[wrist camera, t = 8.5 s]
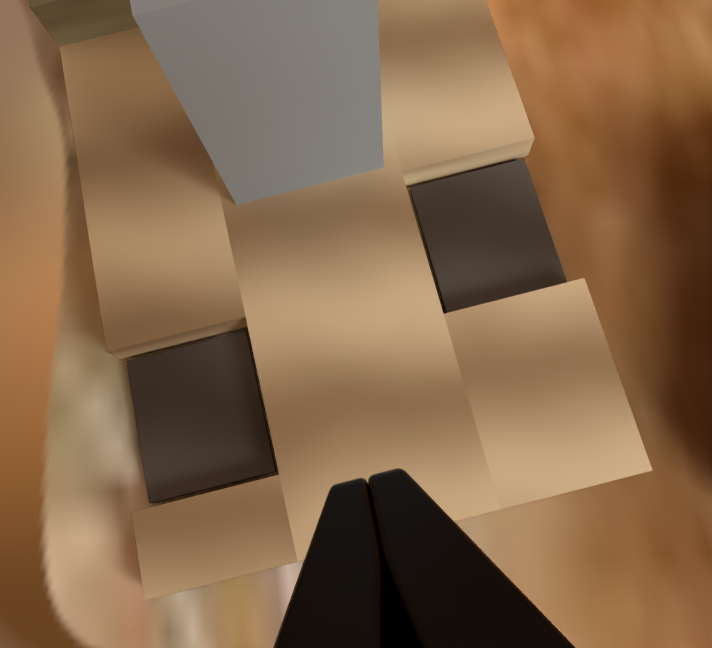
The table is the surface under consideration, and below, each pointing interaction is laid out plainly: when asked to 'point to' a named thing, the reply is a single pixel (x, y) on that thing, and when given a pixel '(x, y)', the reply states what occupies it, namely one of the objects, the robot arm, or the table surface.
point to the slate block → (274, 86)
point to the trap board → (335, 302)
